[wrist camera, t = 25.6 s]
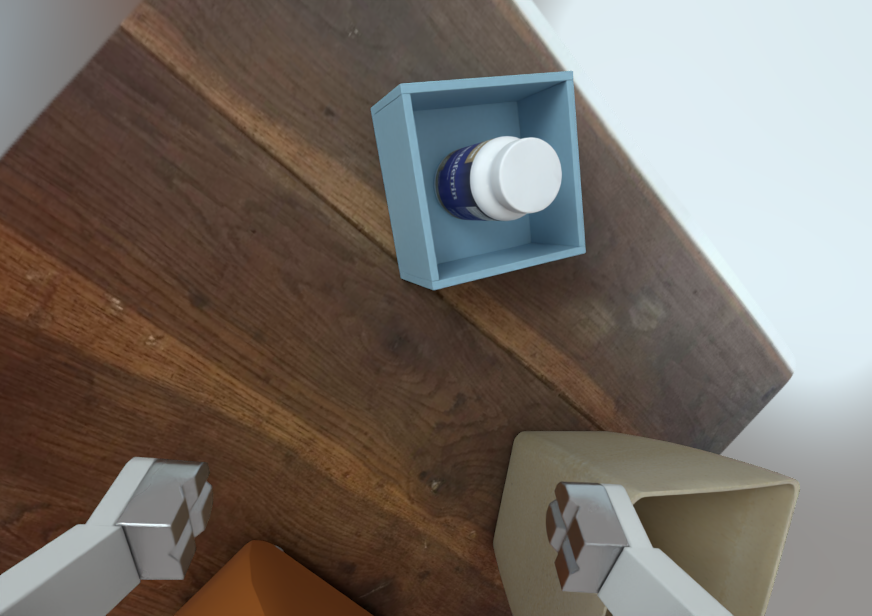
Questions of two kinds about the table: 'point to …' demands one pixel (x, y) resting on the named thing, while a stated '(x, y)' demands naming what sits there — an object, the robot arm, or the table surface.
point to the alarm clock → (267, 588)
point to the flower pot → (645, 516)
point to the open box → (464, 126)
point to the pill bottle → (498, 179)
